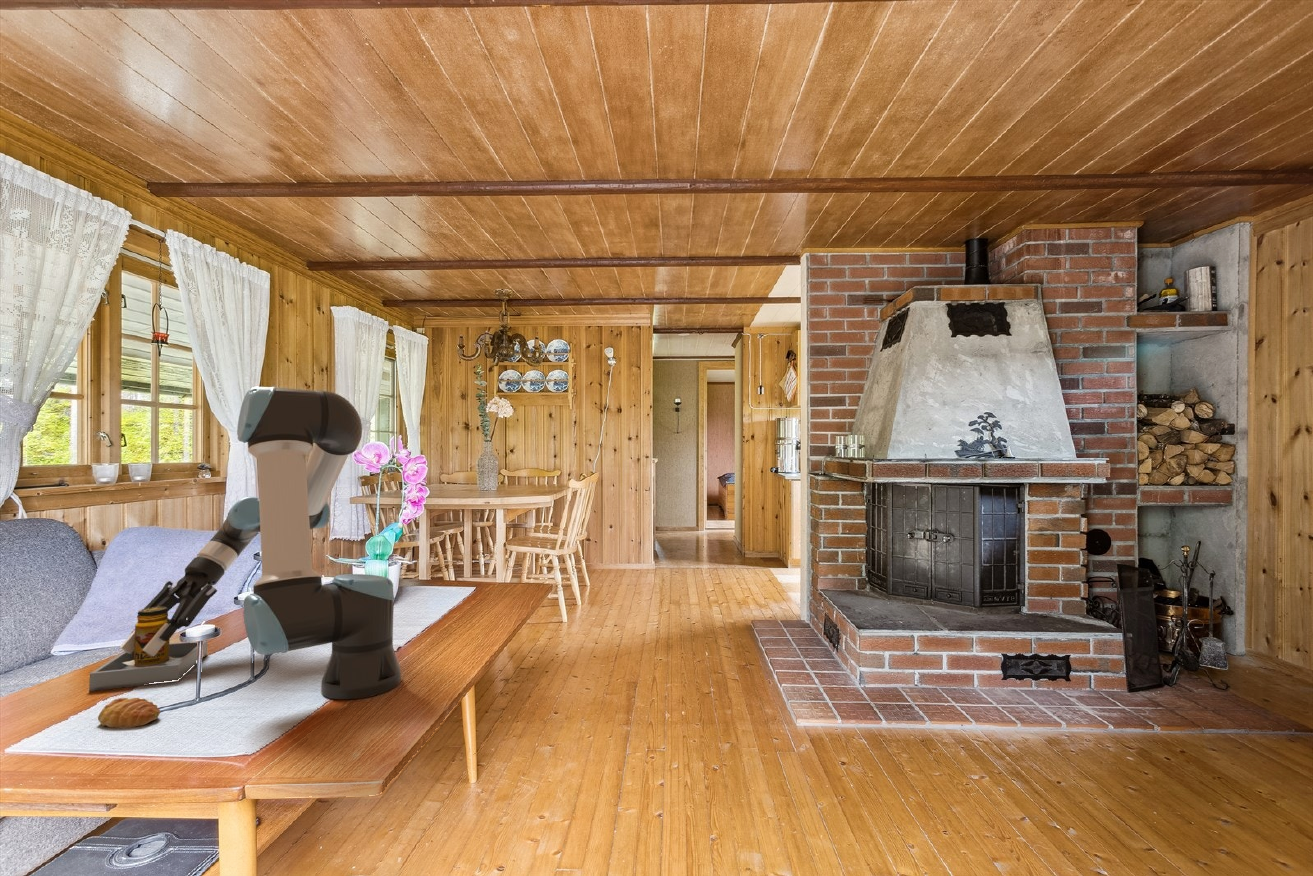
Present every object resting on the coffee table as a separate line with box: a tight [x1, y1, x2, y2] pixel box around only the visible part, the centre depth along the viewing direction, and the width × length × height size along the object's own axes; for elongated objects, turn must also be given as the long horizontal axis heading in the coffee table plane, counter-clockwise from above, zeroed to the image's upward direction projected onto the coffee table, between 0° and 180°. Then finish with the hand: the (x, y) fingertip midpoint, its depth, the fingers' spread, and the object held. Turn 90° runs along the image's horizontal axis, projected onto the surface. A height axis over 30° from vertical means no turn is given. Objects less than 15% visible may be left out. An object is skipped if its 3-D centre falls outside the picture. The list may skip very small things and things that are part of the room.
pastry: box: [97, 697, 161, 728], centre depth 111 cm, size 9×7×4 cm
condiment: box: [123, 607, 178, 668], centre depth 137 cm, size 7×8×12 cm
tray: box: [88, 640, 208, 692], centre depth 136 cm, size 19×15×4 cm
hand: (136, 651), depth 133 cm, fingers closed on condiment, 6 cm apart
